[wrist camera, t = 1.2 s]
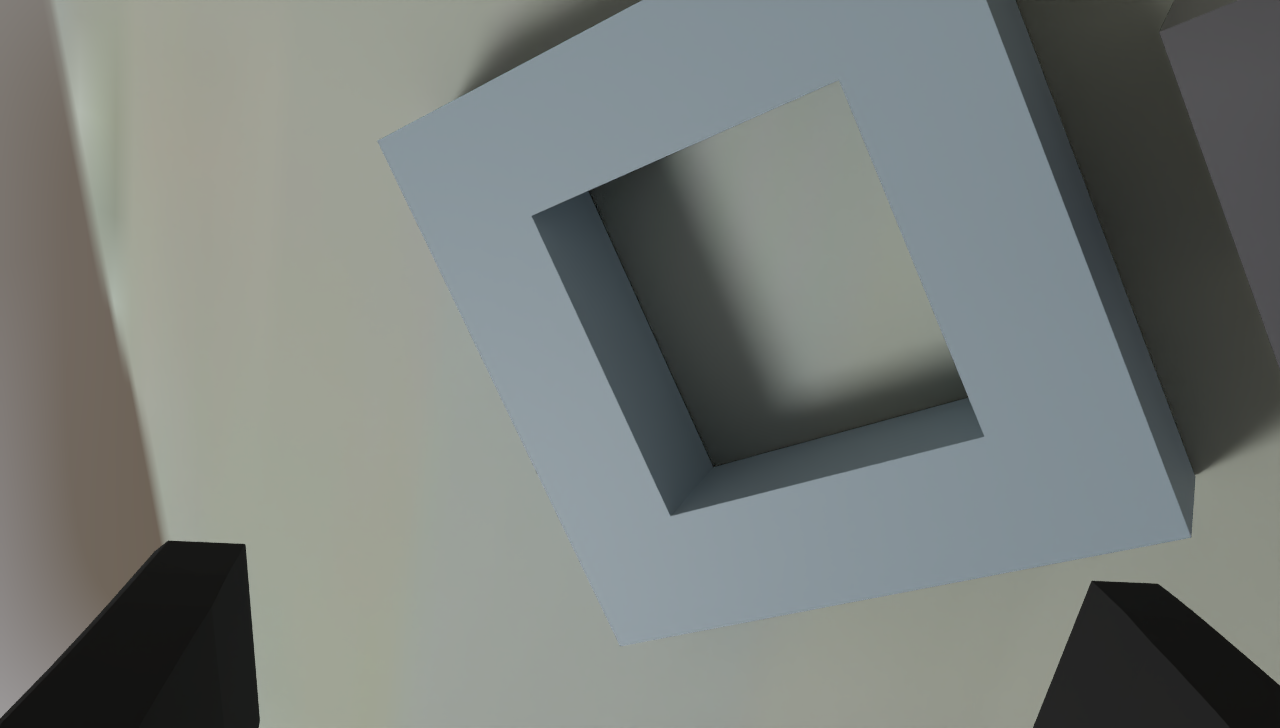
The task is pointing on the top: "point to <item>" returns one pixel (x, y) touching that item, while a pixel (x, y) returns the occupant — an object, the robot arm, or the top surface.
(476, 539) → the top surface
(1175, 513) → the socket plate
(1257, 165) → the plug
